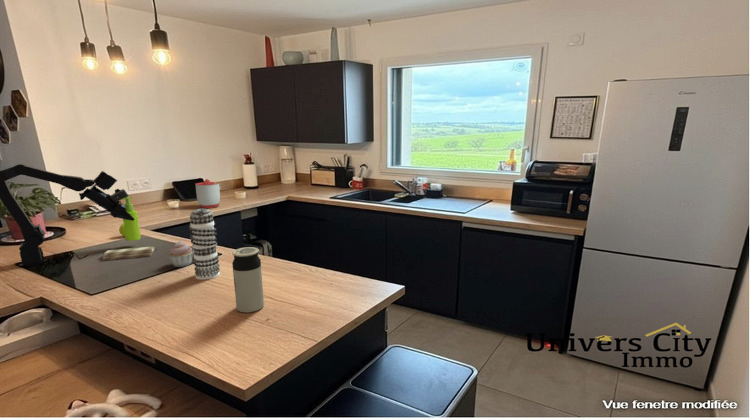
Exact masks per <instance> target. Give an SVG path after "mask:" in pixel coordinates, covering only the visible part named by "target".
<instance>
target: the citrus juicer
mask: <svg viewBox="0 0 750 420" xmlns="http://www.w3.org/2000/svg"><path fill="white" fill-rule="evenodd" d="M194 184H195V193H196V199H197V202H198V205H199V207H200V209H211V208H217V207H219V205H220V202H221V191H220V190H221V189H222V187H221V186H220V182H217V183H215V182H214V181H210V180H209V179H208V178H206V179H205V180H204V181H202V182H198V183H197V182H196V183H194Z"/></svg>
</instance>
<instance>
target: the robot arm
mask: <svg viewBox="0 0 750 420" xmlns="http://www.w3.org/2000/svg"><path fill="white" fill-rule="evenodd" d="M21 175H22V176H26V177H30V178H34V179H38V180H43V181H46V182H49V183H54V184H58V185H61V186H62V187H65V188H67V189H69V190H72V191H75V192H79V193H78V196H79V198H80V201H83V200H84V199H85V198H86V199H88V200H90V201H91V202H92V203H94V204H96V205H97V206H98V207H101V208H103V209H104V210H105V211H107V212H108V213H109V214H110V216H111V217H113V218H114V219H115V218H117V219H122V220H123V219H126V220H131V221H134V220H135V219H134V218H133V217H132V216H131V215H130V214H129V213H128V212H127V211H126V207H125V206H124V205H125V204H124V203H123V202H122V200H121V199H123V198H125V197H130V196H129V194H128V193H127V191H126V190H125V189H124V188H123V189H119V188H117V189H114V193H112V194H111V195H110V194H109V193H106V192H105V191H106V190H108V191H109V190H110V189H111V188H112V187H113V186H114V185H115V184H116V183H117V182H118V179H116V178H114V176H112V175H110V174H108V173H106V172H105V171H103V170H102V171H101V172H100V173H99V174H98V175H97V176H96V177H95V178H94V179H85V178H83V177H82V176H73V175H65V174H59V173H55V172H51V171H48V170H43V169H39V168H35V167H33V166H28V165H26V164H23V163H19V164H18V163H17V164H16V165H14V166H11V167H8V168H5V169H2V170H0V200H1V203H2V204H3V205H4V207H5V208H6V210H7V211H8V212H9V213H10V216H12V218H13V220H14V221H15V223H16V224H17V225H18V227H19V229H20V232H21V235H22V237H23V241H22V242H21V243H20V246H19V248H18V250H19V256H20V260H21V263H20V264H18V266H19V267H35V266H37V265H41V264H44V263H46V262H48V259H45V256H44V252H43V250H42V247H41V245H42V244H43V243H44V240H45V233H46V231H44V230H43V229H42V227H41V224H40V223H39V224H36V225H35V224H34V223H33V222H32V221H31V219H30V218H29V216H28V215H27V214H26V212H25V210H24V209H23V207H22V206H21V205H20V203H19V202H18V200H17V198H16V197H15V196H14V194H13V192H12V191H11V189H10V188H11V187H10V185H9V182H8V180H11V179H13V178H15V177H18V176H21ZM89 187H90V188H89ZM123 200H124V199H123Z"/></svg>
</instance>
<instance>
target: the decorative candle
mask: <svg viewBox="0 0 750 420" xmlns="http://www.w3.org/2000/svg"><path fill="white" fill-rule="evenodd" d="M213 214H214V212H213V211H211V209H210V208H196V209H193V210H192V211H191V213H190V214H188V216H189V221H190V223H189V226H188V230H189V231H188V232H189V234H190V235H189V238H190V243H191V244H192V245H191V248H192V249H193V252H194V254H193V258H192V259H193V262H194V263H193V264H194V275H195V278H196V279H197V280H200V281H201V280H204V281H205V280H212V279H214V278H218V277H219V276H220V275H221V272H220V271H221V270H220V267H221V266H220V264H219V262H220V260H219V255H218V251H217V245H218V242H217V241H218V238H217V237H216V236H217V235H218V233H217V232H216V231H217V230H218V229H217V228H216V227H214V226H216V225H217V223H216V222H215V221H214V216H213Z"/></svg>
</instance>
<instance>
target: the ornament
mask: <svg viewBox="0 0 750 420" xmlns="http://www.w3.org/2000/svg"><path fill="white" fill-rule="evenodd" d="M118 232H119V234H120V235H121V236H122V237H125V230H124V223H122V224H121V225H120V226H119V229H118Z"/></svg>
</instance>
